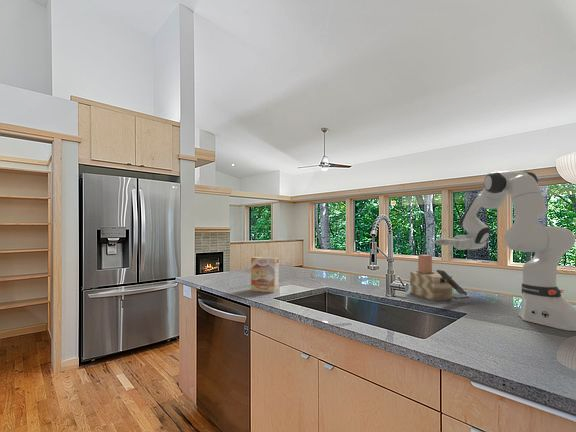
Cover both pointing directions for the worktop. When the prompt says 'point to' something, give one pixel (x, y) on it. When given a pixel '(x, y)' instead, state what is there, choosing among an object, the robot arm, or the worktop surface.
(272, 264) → the coffeecake box
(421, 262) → the reddish pink block
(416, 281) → the beige patterned box
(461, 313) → the worktop surface
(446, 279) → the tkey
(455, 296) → the pad
